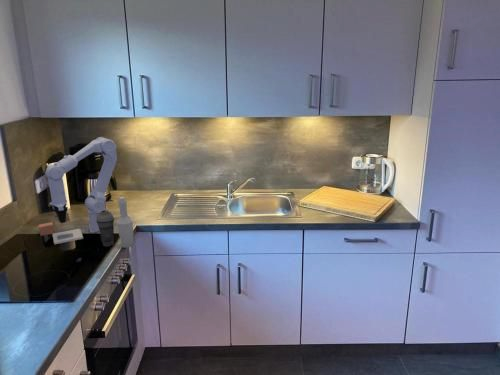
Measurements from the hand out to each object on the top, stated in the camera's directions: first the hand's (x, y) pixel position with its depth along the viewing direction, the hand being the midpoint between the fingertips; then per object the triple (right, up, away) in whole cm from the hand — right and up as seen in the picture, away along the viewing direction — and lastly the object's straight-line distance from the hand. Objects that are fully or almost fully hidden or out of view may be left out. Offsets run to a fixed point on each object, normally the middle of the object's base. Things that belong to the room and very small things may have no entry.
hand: (62, 220), depth 185 cm
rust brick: (-11, -7, +9) cm, 16 cm away
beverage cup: (+23, -10, -5) cm, 25 cm away
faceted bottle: (+32, -10, -7) cm, 34 cm away
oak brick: (0, -2, 0) cm, 2 cm away
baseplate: (+1, -8, +3) cm, 8 cm away
